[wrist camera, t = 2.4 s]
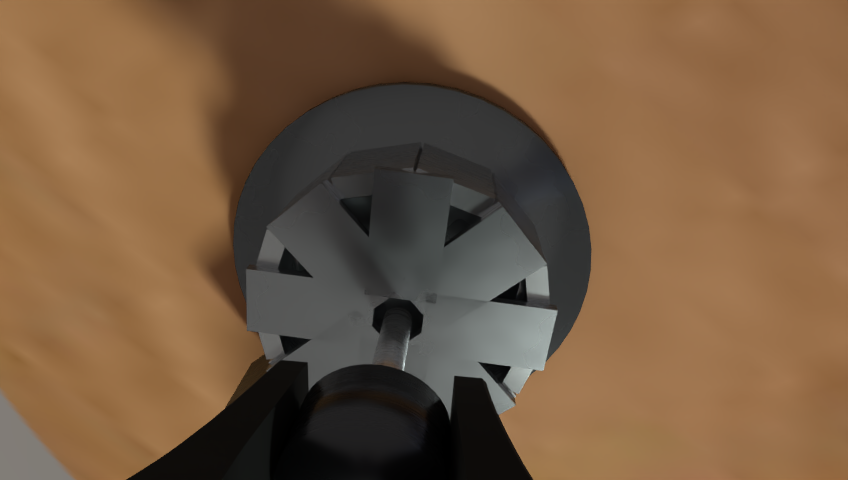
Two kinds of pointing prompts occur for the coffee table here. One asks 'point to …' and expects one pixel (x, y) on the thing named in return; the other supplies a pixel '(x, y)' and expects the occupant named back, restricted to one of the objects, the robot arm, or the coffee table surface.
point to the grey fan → (412, 239)
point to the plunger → (371, 420)
